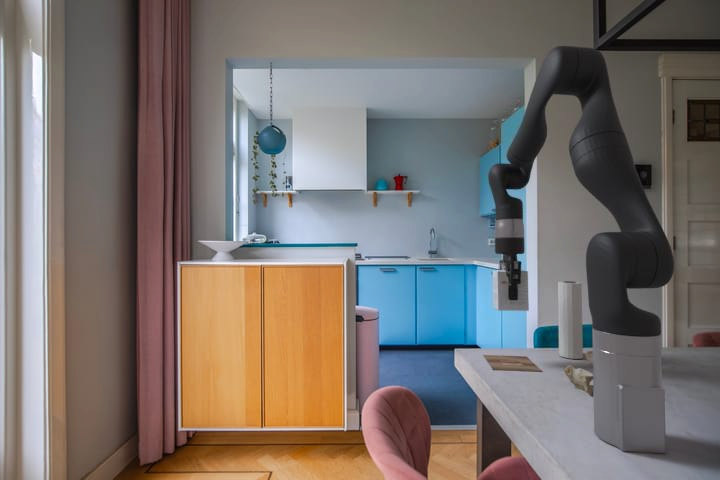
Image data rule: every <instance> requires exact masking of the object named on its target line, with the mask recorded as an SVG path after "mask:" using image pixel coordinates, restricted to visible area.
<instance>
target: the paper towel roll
mask: <svg viewBox="0 0 720 480" xmlns="http://www.w3.org/2000/svg"><path fill="white" fill-rule="evenodd" d="M582 284H583V283H582V282H579V281H578V282H577V281H572V280H571V281H570V280H569V281H567V280H566V281H558V282H557V286H558V287H557V297H558V298H557V299H558V300H557V301H558V302H557V303H558V305H557V306H558V307H557V308H558V312H557V313H558V315H557V316H558V356H560V357H561V358H565V359H570V360H581V359H583V357H584V356H583V355H584V353H583V351H584V349H583V348H584V347H583V346H584V344H583V294H582V293H583V290H582V289H583V288H582V287H583V285H582Z"/></svg>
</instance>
